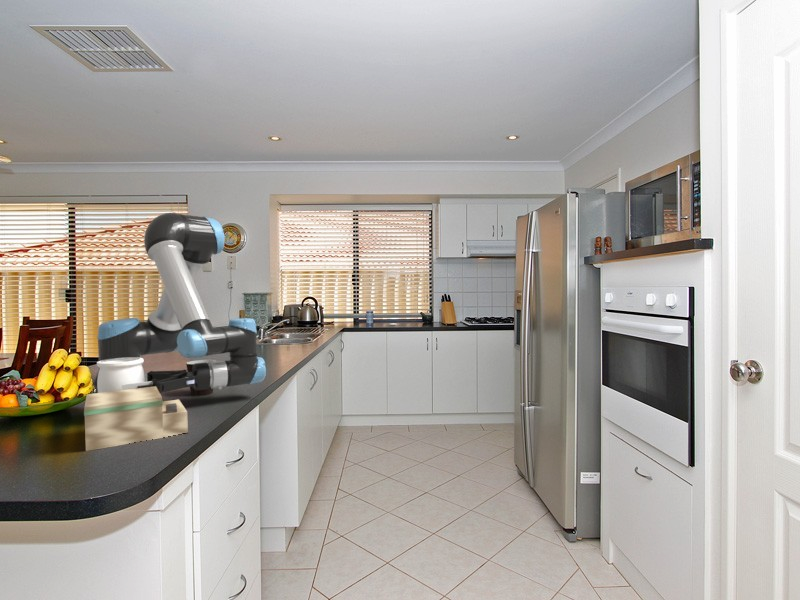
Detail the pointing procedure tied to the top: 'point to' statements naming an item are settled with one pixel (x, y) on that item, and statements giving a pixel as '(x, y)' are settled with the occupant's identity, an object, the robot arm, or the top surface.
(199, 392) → the coffee mug
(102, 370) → the jar
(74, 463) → the top surface
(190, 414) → the top surface
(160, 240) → the robot arm
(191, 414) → the top surface
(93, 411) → the step stand
